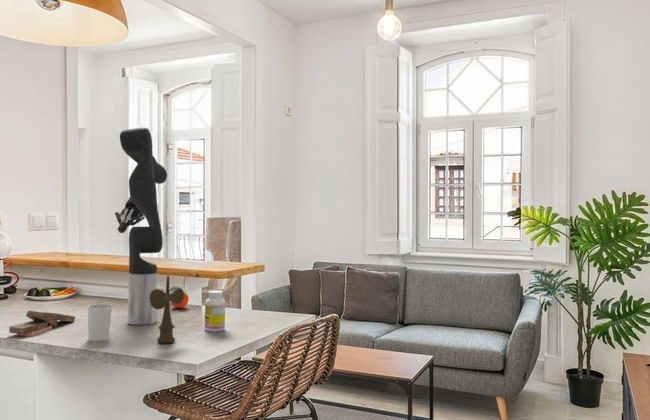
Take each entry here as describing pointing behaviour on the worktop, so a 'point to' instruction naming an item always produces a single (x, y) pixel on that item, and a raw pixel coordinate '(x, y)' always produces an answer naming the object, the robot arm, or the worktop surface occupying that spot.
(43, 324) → the domino
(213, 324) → the supplement bottle
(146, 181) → the robot arm
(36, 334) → the domino
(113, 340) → the worktop surface
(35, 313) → the domino
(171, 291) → the kendama
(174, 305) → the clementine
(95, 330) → the drinking glass
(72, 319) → the domino
